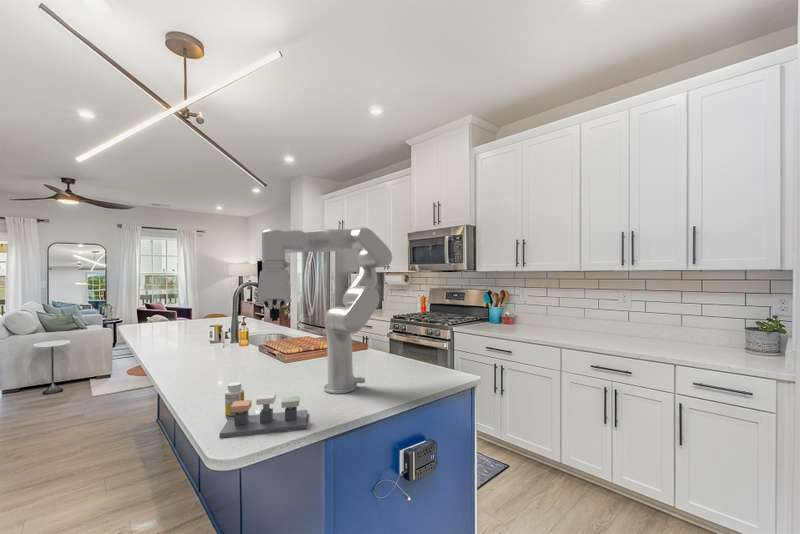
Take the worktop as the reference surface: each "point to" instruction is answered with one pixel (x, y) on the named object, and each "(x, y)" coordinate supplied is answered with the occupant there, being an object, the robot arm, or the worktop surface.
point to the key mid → (266, 400)
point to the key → (241, 406)
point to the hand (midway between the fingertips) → (275, 320)
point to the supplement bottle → (233, 397)
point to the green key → (290, 402)
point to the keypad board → (264, 422)
